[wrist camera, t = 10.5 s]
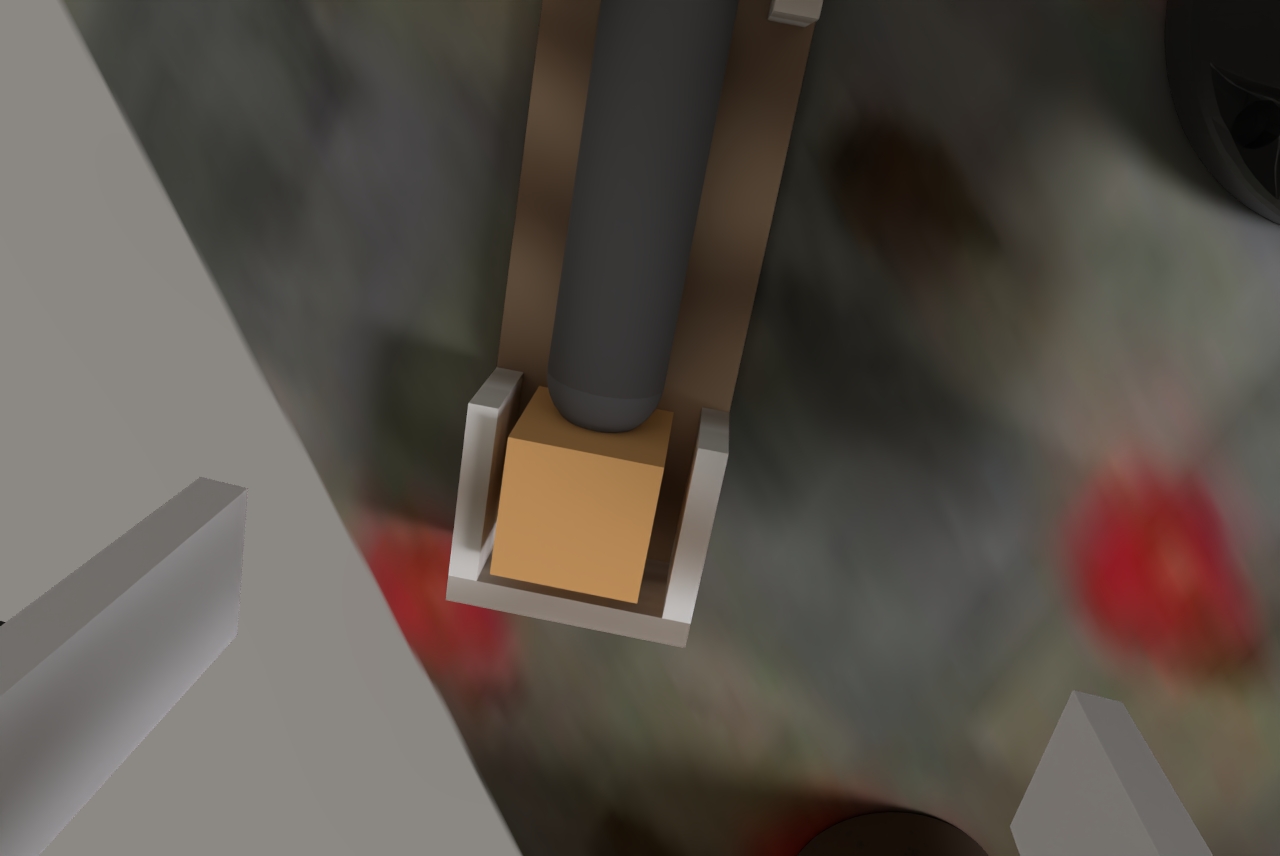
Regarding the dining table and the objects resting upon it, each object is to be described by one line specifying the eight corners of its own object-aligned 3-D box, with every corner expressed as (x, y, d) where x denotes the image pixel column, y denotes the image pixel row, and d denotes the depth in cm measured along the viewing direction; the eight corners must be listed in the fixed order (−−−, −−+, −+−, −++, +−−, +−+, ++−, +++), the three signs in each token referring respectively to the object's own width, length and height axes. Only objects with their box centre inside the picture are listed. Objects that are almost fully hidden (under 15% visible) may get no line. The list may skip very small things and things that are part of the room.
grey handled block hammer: (616, -160, 29) (593, -206, 24) (781, -130, 29) (791, -170, 24) (521, 507, 37) (489, 574, 32) (649, 532, 37) (637, 603, 32)
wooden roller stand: (572, -207, 29) (533, -273, 23) (853, -156, 29) (882, -210, 23) (477, 546, 38) (433, 628, 33) (688, 588, 38) (681, 678, 33)
